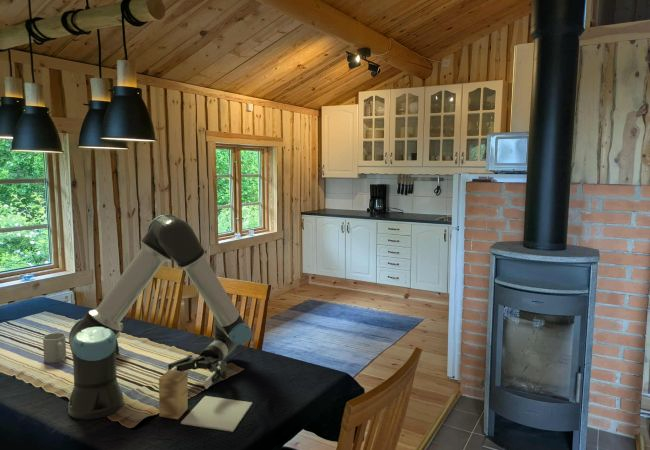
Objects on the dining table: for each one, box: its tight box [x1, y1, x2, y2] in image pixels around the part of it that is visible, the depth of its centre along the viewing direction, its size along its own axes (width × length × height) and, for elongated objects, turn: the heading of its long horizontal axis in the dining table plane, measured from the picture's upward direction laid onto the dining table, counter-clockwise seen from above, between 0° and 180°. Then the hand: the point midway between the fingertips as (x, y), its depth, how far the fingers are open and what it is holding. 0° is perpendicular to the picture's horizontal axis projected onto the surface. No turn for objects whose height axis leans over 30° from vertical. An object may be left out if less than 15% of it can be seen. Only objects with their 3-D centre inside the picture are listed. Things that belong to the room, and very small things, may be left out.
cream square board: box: [180, 395, 253, 433], centre depth 144 cm, size 16×16×1 cm
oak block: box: [158, 370, 189, 420], centre depth 143 cm, size 6×6×12 cm
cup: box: [42, 332, 67, 364], centre depth 176 cm, size 7×10×9 cm
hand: (185, 382), depth 149 cm, fingers open, 13 cm apart
